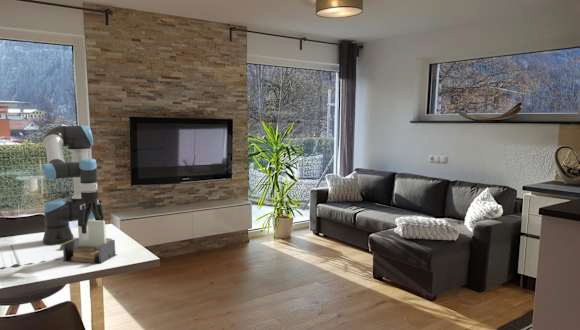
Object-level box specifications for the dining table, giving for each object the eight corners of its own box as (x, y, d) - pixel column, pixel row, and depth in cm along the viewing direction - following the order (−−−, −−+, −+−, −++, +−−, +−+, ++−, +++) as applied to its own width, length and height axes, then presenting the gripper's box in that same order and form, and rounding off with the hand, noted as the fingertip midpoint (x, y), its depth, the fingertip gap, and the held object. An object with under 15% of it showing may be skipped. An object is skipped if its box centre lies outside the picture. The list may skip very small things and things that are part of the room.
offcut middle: (80, 253, 206) (80, 249, 206) (100, 255, 204) (100, 251, 203) (73, 256, 201) (73, 252, 201) (94, 258, 199) (93, 254, 199)
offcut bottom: (79, 257, 206) (78, 253, 206) (101, 258, 204) (100, 254, 204) (71, 261, 201) (71, 256, 201) (94, 262, 199) (93, 258, 199)
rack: (82, 255, 215) (81, 236, 214) (118, 257, 211) (117, 238, 210) (62, 264, 201) (61, 244, 200) (100, 267, 197) (98, 247, 196)
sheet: (81, 255, 210) (79, 219, 208) (106, 256, 207) (104, 220, 205) (80, 256, 209) (77, 220, 207) (105, 257, 206) (103, 221, 204)
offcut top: (79, 249, 205) (79, 245, 205) (96, 250, 204) (96, 246, 203) (73, 252, 201) (73, 248, 201) (90, 253, 199) (90, 249, 199)
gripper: (81, 195, 193) (84, 243, 195) (110, 187, 214) (112, 231, 216) (66, 194, 194) (70, 242, 197) (96, 187, 215) (99, 230, 218)
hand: (92, 236), depth 207 cm, fingers open, 9 cm apart
